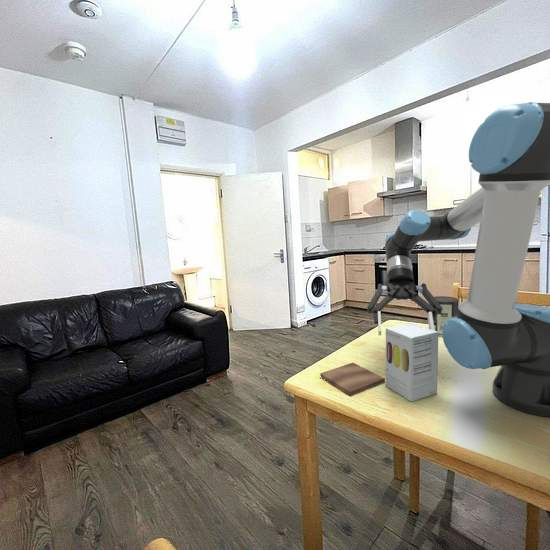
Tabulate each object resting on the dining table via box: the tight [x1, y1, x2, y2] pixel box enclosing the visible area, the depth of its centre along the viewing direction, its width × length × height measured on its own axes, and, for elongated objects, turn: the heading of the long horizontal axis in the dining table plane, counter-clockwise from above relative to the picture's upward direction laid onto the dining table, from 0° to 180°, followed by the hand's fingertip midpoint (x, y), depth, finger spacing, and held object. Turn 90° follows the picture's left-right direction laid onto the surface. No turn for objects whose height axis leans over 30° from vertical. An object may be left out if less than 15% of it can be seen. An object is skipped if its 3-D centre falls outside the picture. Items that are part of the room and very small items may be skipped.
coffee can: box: [433, 295, 460, 338], centre depth 120 cm, size 10×10×14 cm
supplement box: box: [385, 322, 439, 402], centre depth 80 cm, size 10×9×17 cm
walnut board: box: [320, 362, 386, 397], centre depth 88 cm, size 13×13×1 cm
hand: (405, 334), depth 84 cm, fingers open, 13 cm apart
